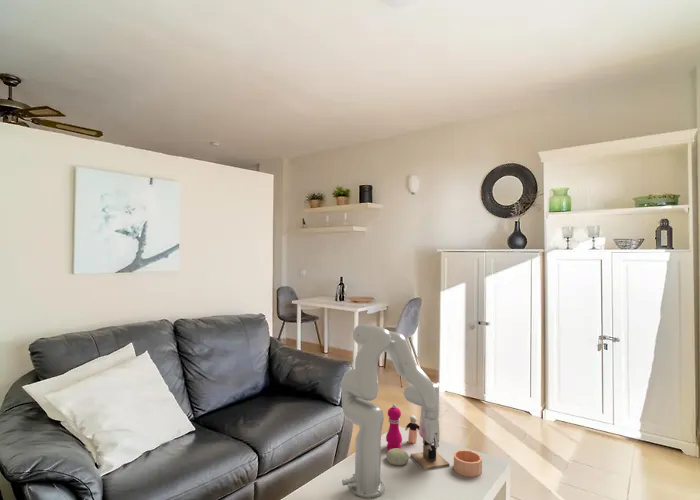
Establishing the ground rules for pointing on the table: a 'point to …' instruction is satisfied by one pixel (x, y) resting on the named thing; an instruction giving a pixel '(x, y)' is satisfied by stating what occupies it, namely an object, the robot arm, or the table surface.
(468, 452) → the bowl
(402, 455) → the sea urchin shell
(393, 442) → the pepper mill
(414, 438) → the grandmother figurine
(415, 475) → the table surface
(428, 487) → the table surface
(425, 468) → the lid
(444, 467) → the mat
